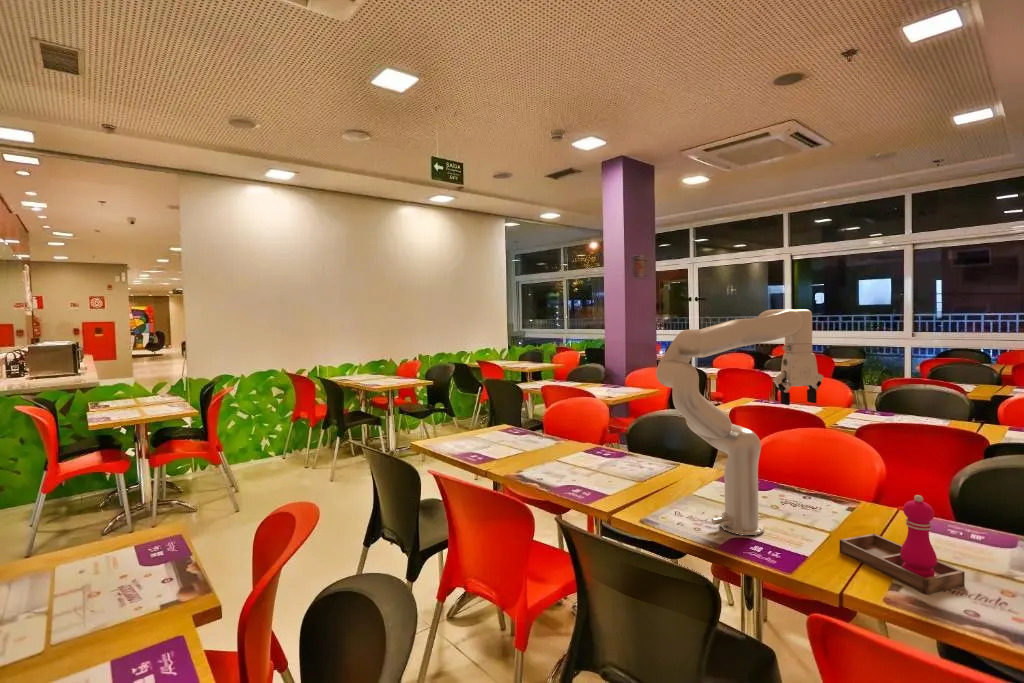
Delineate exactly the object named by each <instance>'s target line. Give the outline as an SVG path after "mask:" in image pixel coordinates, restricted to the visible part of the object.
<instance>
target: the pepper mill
mask: <svg viewBox="0 0 1024 683" xmlns="http://www.w3.org/2000/svg"><path fill="white" fill-rule="evenodd" d="M913 499H914V500H909V501H907V502H906V503H904V505H903V515H905V517H906V518H905V525H906V526H907V536H906V538H905V540H904V542H903V544H901V545H902V547H901V551H900V557H901V558H902V560H903V561H904V562H905V563H903V568H905V569H907V570H909V571H911V572H913V573H915V574H918V575H920V576H922V577H924V578H928V577H932V576H934V570H933V569H932V568H933V567H934V566H936V564H937V560H938V557H937V554H936V552H935V549H934V548H933V545H932V544H931V543H932V542H931V540H930V531H931V530H932V523H931V521H933V519H934V518H935V511H934V509H933V507H932V506H931V505H930V504H929V503H927V502H925V501H924V497H923V496H922V495H919V494H915V495H914V497H913Z"/></svg>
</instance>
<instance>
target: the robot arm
mask: <svg viewBox="0 0 1024 683" xmlns="http://www.w3.org/2000/svg"><path fill="white" fill-rule="evenodd" d="M782 338H784V346H783V345H782V351H784V353H783V356H782V359H781V360H782V361H781V369H780V374H778V375H776V376H775V377H773V379H772V380H773V382H774V384H775V387H776V388H777V389H778V391H779V392H780V405H785V406H790V404H791V392H789V391H790V389H792V387H807V388H808V389H807V390H806V401H807V403H811V404H817V402H818V401H817V396H818V395H817V394H818V393H817V391H818V390H819V389H820V388H819V387H820V386H821V385H822V381H823V380H824V375H822V374H821V373H819V370H818V363H817V358H816V353H813V312H812V311H811V310H809V309H791V308H790V309H788V308H783V309H779V308H778V309H768V310H764V311H763V312H761V313H760V314H758V316H757V317H754V318H753V317H752V318H738V319H730V320H728V321H724V322H720V323H717V324H714V325H710V326H707V327H704V328H699V329H684V330H682V331H681V332H679V333H678V334H677V335H676V336H675V338H674V339H673V340H672V342H671V344H670V345H669V347H668V348H667V350H666V351H665V353H664V355H663V356H662V358H661V359H660V361H659V363H658V365H657V367H656V370H655V374H656V379H657V381H658V382H659V383H660V385H663V386H664V387H667V388H671V389H672V392H671V394H672V396H671V397H672V402H673V406H674V408H675V410H676V411H677V412H678V413H679V415H680V416H682V417H683V418H685V423H686V425H687V426H688V428H689V430H691V431H692V432H693V433H694V434H696V435H697V436H698V437H700V438H701V439H703V440H704V442H706V443H708V444H709V445H710V446H712V447H714V449H717V450H719V451H720V452H723V453H724V454H727V459H726V462H725V465H724V472H723V473H724V474H723V476H724V477H723V478H724V511H723V512H721V515H720V516H719V517H712V518H711V520H710V522H711V524H712V525H719V527H720V526H721V527H722V528H723V529H725V530H727V531H730V532H733V533H738V534H743V535H755V536H758V535H757V534H760V533H762V532H763V533H764V532H765V526H764V524H762V523H761V522H760V521H759V479H758V478H759V474H758V473H759V461H760V455H761V450H762V443H761V439H760V438H759V436H758V435H757V433H755V431H753V430H751V429H749V428H746V427H743V426H741V425H737V424H734V423H732V421H731V419H730V416H728V415H727V413H726V412H724V410H722V409H720V408H719V407H717V406H716V405H715V404H713V403H712V402H710V401H709V400H708V399H707V398H705V397H704V395H702V394H701V392H700V386H699V384H700V376H699V372H698V370H697V369H696V367H695V366H693V365H692V364H690V362H691V360H692V358H698V359H699V358H706V357H709V356H713V355H717V354H720V353H723V352H727V351H731V350H733V349H737V348H741V347H748V346H752V345H757V344H762V343H768V342H770V341H771V342H772V341H776V340H779V339H782ZM721 527H720V528H721ZM722 528H721V529H722ZM723 529H722V530H723ZM725 530H724V531H725ZM727 531H726V532H727ZM763 533H762V534H763ZM760 535H761V534H760Z"/></svg>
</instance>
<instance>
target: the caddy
mask: <svg viewBox="0 0 1024 683" xmlns="http://www.w3.org/2000/svg"><path fill="white" fill-rule="evenodd" d="M902 545H903V544H900V543H897V542H895V541H892V540H890V539H887V538H885V537H884V536H880V535H878V534H876V533H870V534H864V535H859V536H854V537H846V538H841V539H839V553H841V554H842V555H845V556H847V557H849V558H851V559H853V560H855V561H857V562H859V563H861V564H863V565H864V566H867V567H869V568H871V569H873V570H875V571H877V572H879V573H881V574H883V575H886V576H887V577H889V578H891V579H893V580H895V581H897V582H899V583H901V584H903V585H905V586H908V587H909V588H911V589H913V590H916V591H918V592H919V593H921V594H923V595H926V596H927V594H928V595H932V594H936V593H941V592H945V591H950V590H953V589H958V587H959V588H963V587H965V580H966V579H965V577H966V576H965V571H964V570H961V569H959V568H956V567H953V566H951V565H949V564H947V563H945V562H943V561H939V560H938V559H937V564H936V566H934V567H933V568H932V569H933V570H934V576H932V577H928V578H924V577H922V576H920V575H918V574H915V573H913V572H911V571H909V570H907V569H905V568H903V563H905V562H904V561H903V560H902V558H901V557H900V551H901V547H902ZM962 586H963V587H962ZM940 591H941V592H940Z"/></svg>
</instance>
